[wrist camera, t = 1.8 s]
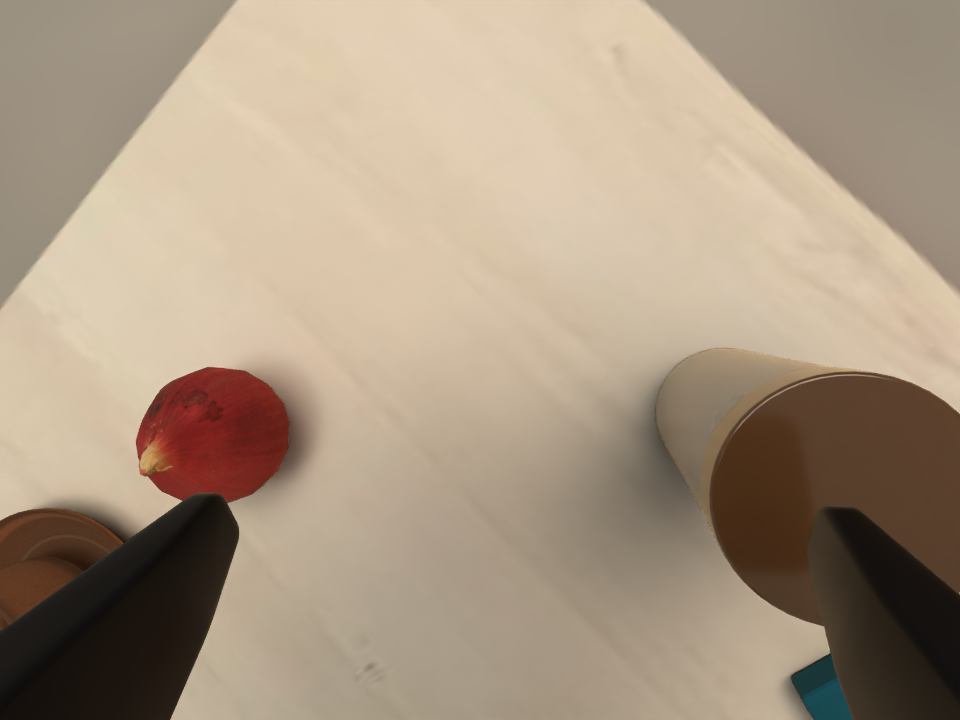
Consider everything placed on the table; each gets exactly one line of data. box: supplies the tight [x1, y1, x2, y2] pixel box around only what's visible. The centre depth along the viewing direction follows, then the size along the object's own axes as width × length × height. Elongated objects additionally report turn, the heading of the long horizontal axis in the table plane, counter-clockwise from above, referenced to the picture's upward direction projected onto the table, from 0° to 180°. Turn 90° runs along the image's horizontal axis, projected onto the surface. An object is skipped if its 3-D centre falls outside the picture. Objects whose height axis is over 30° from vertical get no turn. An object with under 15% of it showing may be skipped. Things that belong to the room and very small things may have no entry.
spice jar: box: [655, 348, 960, 626], centre depth 18 cm, size 6×6×12 cm
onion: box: [136, 367, 289, 503], centre depth 25 cm, size 6×6×8 cm
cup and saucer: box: [0, 508, 123, 631], centre depth 29 cm, size 12×12×6 cm
